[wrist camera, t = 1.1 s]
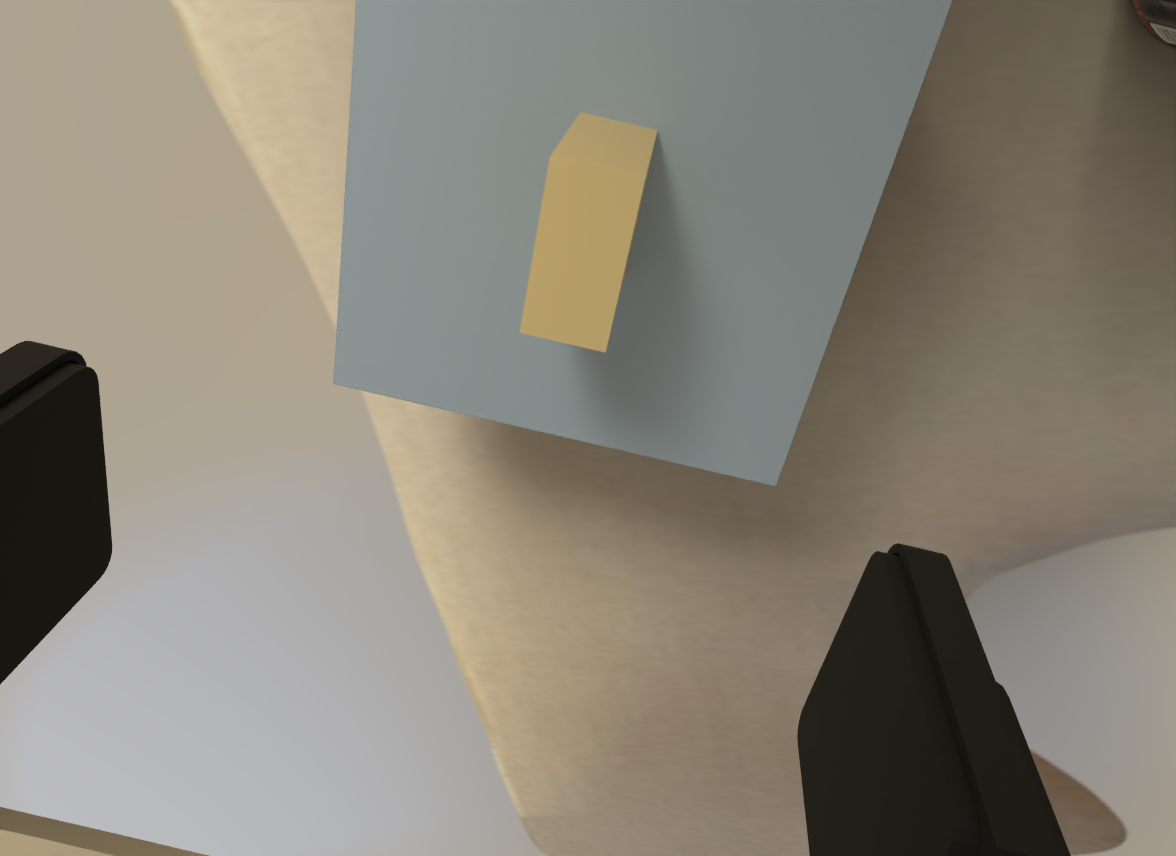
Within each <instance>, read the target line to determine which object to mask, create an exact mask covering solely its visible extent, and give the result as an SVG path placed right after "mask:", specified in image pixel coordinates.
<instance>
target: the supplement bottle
mask: <svg viewBox="0 0 1176 856" xmlns="http://www.w3.org/2000/svg"><path fill="white" fill-rule="evenodd" d="M1132 3H1133V5H1134V8H1135V11H1136V14H1137V15H1138V17H1139V19H1140V20H1141V22H1142V23H1143V24H1144V26H1145V27H1146V28H1147V30H1148V31H1149V32H1150V33H1151V34H1152V35H1154V36H1155V37H1156V38H1157V39H1158V40H1159V41H1161V42H1162V43H1164V44H1166V45H1168V46H1170V47H1172V48H1175V49H1176V0H1132Z"/></svg>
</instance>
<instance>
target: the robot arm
mask: <svg viewBox="0 0 1176 856" xmlns="http://www.w3.org/2000/svg"><path fill="white" fill-rule="evenodd" d="M111 554H112V538H111V526H110V514H109V502H108V490H107V478H106V466H105V455H104V444H103V431H102V419H101V407H100V395H99V383H98V378H97V374H96V373H95V371H94V370H93V369H92V368H90V367H87V366H86V362H85V360H84V358H83V357H82V355H80V354H79V353H77V352H75V351H71V350H66V349H62V348H58V347H54V346H49V345H45V344H41V343H37V342H32V341H24V342H21V343H18V344H16V345H15V346H13V347H11V348H10V349H8V350H6V351H5V352H3V353H1V354H0V684H1V683H2V682H3V681H4V680H5V679H6V678H7V677H8V675H9V674H10V673H11V672H12V671H13V670H14V669H15V668H16V667H17V666H18V665H19V664H20V663H21V662H22V661H23V660H24V659H25V657H26V656H27V655H28V654H29V653H30V652H31V651H32V650H33V649H34V648H35V647H36V646H37V644H39V642H40V641H41V640H42V639H43V638H44V637H45V636H46V635H47V634H48V633H49V632H50V631H51V630H52V629H53V628H54V627H55V626H56V625H57V623H58V622H59V621H60V620H61V619H62V618H63V617H64V616H65V615H66V614H67V613H68V612H69V611H70V610H71V609H72V607H73V606H74V605H75V604H76V603H77V602H78V601H79V600H80V599H81V598H82V597H83V596H84V595H85V594H86V593H87V592H88V591H89V589H90V588H91V587H92V586H93V585H94V584H95V583H96V582H97V581H98V580H99V579H100V578H101V576H102V575H103V574H104V572H105V570H106V569H107V567H108V564H109V562H110V559H111ZM798 749H799V758H800V767H801V777H802V786H803V795H804V805H805V814H806V823H807V833H808V842H809V851H810V856H1071V855H1070V853H1069V850H1068V848H1067V845H1066V842H1065V840H1064V837H1063V835H1062V832H1061V830H1060V827H1059V824H1058V822H1057V819H1056V817H1055V814H1054V812H1053V809H1052V806H1051V804H1050V801H1049V799H1048V796H1047V794H1046V791H1045V788H1044V786H1043V783H1042V781H1041V778H1040V776H1039V773H1038V770H1037V768H1036V765H1035V763H1034V760H1033V758H1032V755H1031V752H1030V750H1029V747H1028V745H1027V742H1026V740H1025V737H1024V735H1023V732H1022V729H1021V727H1020V724H1019V722H1018V719H1017V716H1016V714H1015V712H1014V709H1013V706H1012V704H1011V701H1010V699H1009V697H1008V695H1007V693H1006V691H1005V689H1004V688H1003V686H1001V685H1000V684H999V683H997V682H996V681H995V679H994V676H993V673H992V671H991V668H990V665H989V663H988V660H987V657H986V655H985V652H984V650H983V647H982V644H981V641H980V639H979V636H978V634H977V631H976V628H975V626H974V623H973V620H972V618H971V615H970V613H969V610H968V607H967V605H966V602H965V599H964V597H963V594H962V591H961V589H960V586H959V583H958V581H957V578H956V576H955V573H954V570H953V568H952V565H951V562H950V560H949V559H948V557H947V556H946V555H944V554H942V553H937V552H933V551H929V550H924V549H920V548H916V547H912V546H907V545H903V544H899V543H897V544H895V545H893V546H892V547H891V548H890V549H889V551H888V553H883V552H879V551H877V552H875V553H874V554H873V555H872V556H871V558H870V560H869V562H868V564H867V566H866V568H865V571H864V573H863V575H862V577H861V580H860V582H859V584H858V586H857V588H856V591H855V593H854V595H853V597H852V600H851V602H850V604H849V606H848V609H847V611H846V613H845V615H844V618H843V620H842V622H841V624H840V626H839V629H838V631H837V633H836V635H835V638H834V640H833V642H832V644H831V647H830V649H829V651H828V653H827V656H826V658H825V660H824V662H823V664H822V667H821V669H820V671H819V673H818V676H817V678H816V680H815V682H814V685H813V687H812V689H811V691H810V693H809V696H808V698H807V700H806V702H805V705H804V707H803V710H802V712H801V716H800V720H799V726H798ZM0 856H208V855H204V854H199V853H195V852H191V851H186V850H182V849H178V848H174V847H170V846H165V845H161V844H157V843H153V842H149V841H144V840H140V839H136V838H132V837H127V836H123V835H119V834H115V833H110V832H106V831H102V830H98V829H93V828H89V827H85V826H80V825H76V824H71V823H67V822H63V821H58V820H54V819H50V818H46V817H41V816H37V815H32V814H28V813H24V812H19V811H15V810H11V809H7V808H2V807H0Z"/></svg>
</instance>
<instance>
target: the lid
mask: <svg viewBox="0 0 1176 856" xmlns="http://www.w3.org/2000/svg"><path fill="white" fill-rule="evenodd" d="M952 1H953V0H356V15H355V32H354V48H353V65H352V82H351V99H350V115H349V132H348V149H347V166H346V182H345V199H344V216H343V232H342V249H341V266H340V283H339V299H338V316H337V333H336V350H335V366H334V384H336V385H340V386H345V387H349V388H353V389H358V390H362V391H366V392H371V393H375V394H379V395H384V396H388V397H392V398H397V399H401V400H405V401H410V402H414V403H418V404H422V405H427V406H431V407H435V408H440V409H444V410H448V411H453V412H457V413H461V414H466V415H470V416H474V417H479V418H483V419H487V420H492V421H496V422H500V423H505V424H509V425H513V426H517V427H522V428H526V429H530V430H535V431H539V432H543V433H548V434H552V435H556V436H561V437H565V438H569V439H574V440H578V441H582V442H587V443H591V444H595V445H600V446H604V447H608V448H612V449H617V450H621V451H625V452H630V453H634V454H638V455H643V456H647V457H651V458H656V459H660V460H664V461H669V462H673V463H677V464H682V465H686V466H690V467H694V468H699V469H703V470H707V471H712V472H716V473H720V474H725V475H729V476H733V477H738V478H742V479H746V480H751V481H755V482H759V483H764V484H768V485H772V486H776V484H777V482H778V479H779V476H780V473H781V471H782V468H783V465H784V462H785V460H786V457H787V454H788V451H789V449H790V446H791V443H792V440H793V438H794V435H795V432H796V429H797V427H798V424H799V421H800V418H801V416H802V413H803V410H804V407H805V405H806V402H807V399H808V396H809V394H810V391H811V388H812V385H813V383H814V380H815V377H816V374H817V372H818V369H819V366H820V363H821V361H822V358H823V355H824V352H825V350H826V347H827V344H828V341H829V339H830V336H831V333H832V330H833V328H834V325H835V322H836V319H837V317H838V314H839V311H840V308H841V306H842V303H843V300H844V297H845V295H846V292H847V289H848V286H849V284H850V281H851V278H852V275H853V273H854V270H855V267H856V264H857V262H858V259H859V256H860V253H861V251H862V248H863V245H864V242H865V240H866V237H867V234H868V231H869V229H870V226H871V223H872V220H873V218H874V215H875V212H876V209H877V207H878V204H879V201H880V198H881V196H882V193H883V190H884V187H885V185H886V182H887V179H888V176H889V174H890V171H891V168H892V165H893V163H894V160H895V157H896V154H897V152H898V149H899V146H900V143H901V141H902V138H903V135H904V132H905V130H906V127H907V124H908V121H909V119H910V116H911V113H912V110H913V108H914V105H915V102H916V99H917V97H918V94H919V91H920V88H921V86H922V83H923V80H924V77H925V75H926V72H927V69H928V66H929V64H930V61H931V58H932V55H933V53H934V50H935V47H936V44H937V42H938V39H939V36H940V33H941V31H942V28H943V25H944V23H945V20H946V17H947V14H948V12H949V9H950V6H951V3H952Z"/></svg>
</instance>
